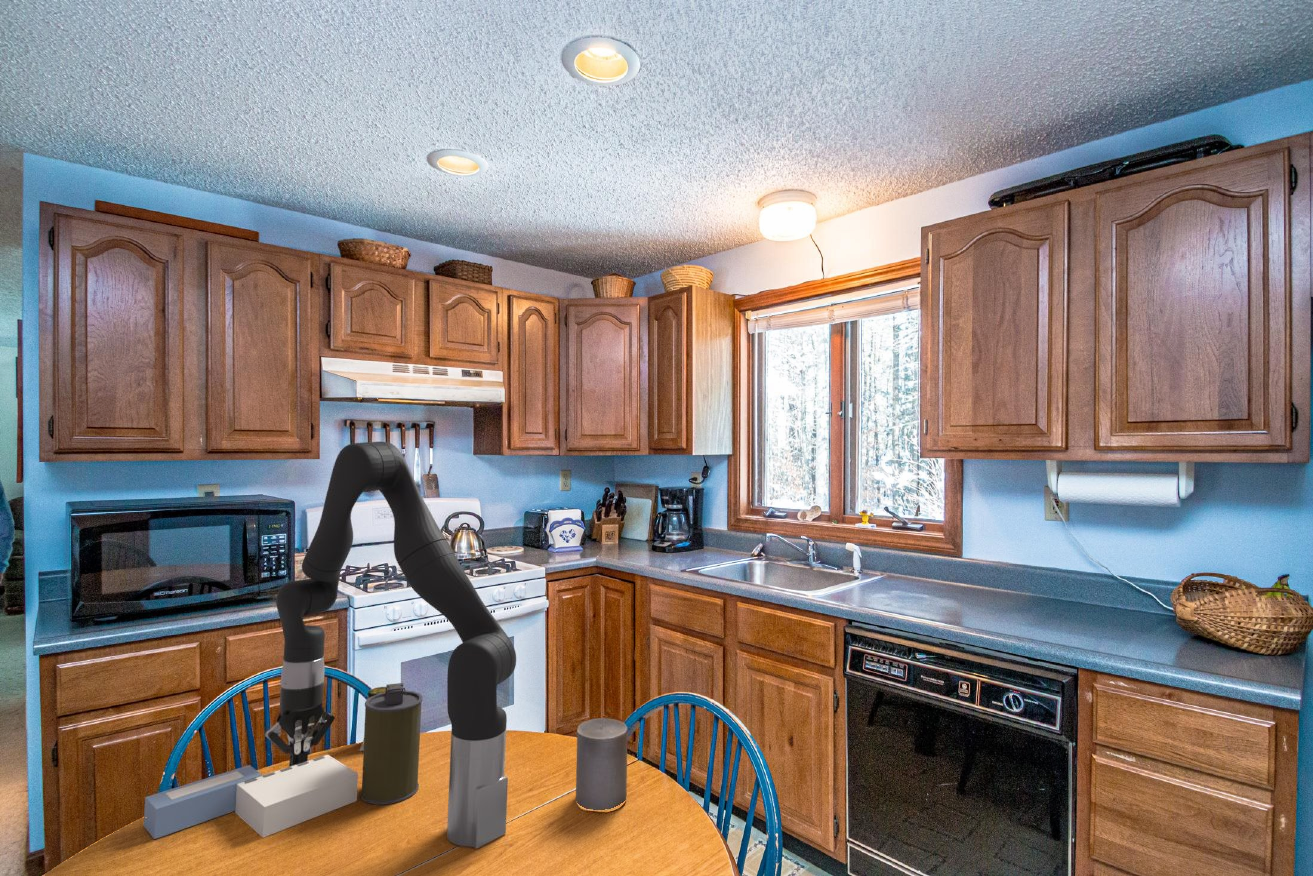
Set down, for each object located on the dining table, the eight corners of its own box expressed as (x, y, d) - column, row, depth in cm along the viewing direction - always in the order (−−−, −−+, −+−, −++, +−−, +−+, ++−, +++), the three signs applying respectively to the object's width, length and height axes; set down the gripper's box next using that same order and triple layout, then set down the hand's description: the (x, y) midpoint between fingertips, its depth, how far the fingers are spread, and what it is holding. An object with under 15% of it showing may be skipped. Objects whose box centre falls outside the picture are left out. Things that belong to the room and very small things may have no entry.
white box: (356, 800, 121) (358, 772, 121) (262, 837, 108) (264, 806, 108) (326, 780, 128) (327, 754, 128) (235, 812, 115) (236, 783, 116)
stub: (260, 801, 119) (262, 774, 119) (154, 839, 106) (156, 808, 107) (247, 791, 123) (249, 764, 123) (143, 826, 110) (145, 796, 110)
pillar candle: (611, 783, 130) (612, 707, 131) (635, 805, 122) (637, 724, 122) (566, 796, 125) (568, 717, 125) (589, 820, 117) (591, 735, 117)
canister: (421, 798, 122) (426, 691, 123) (360, 809, 118) (366, 698, 119) (415, 773, 132) (420, 674, 133) (359, 783, 127) (364, 679, 128)
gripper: (274, 694, 120) (269, 789, 119) (345, 677, 131) (341, 765, 130) (258, 685, 125) (253, 777, 124) (327, 669, 135) (323, 754, 134)
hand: (298, 770), depth 127 cm, fingers closed
